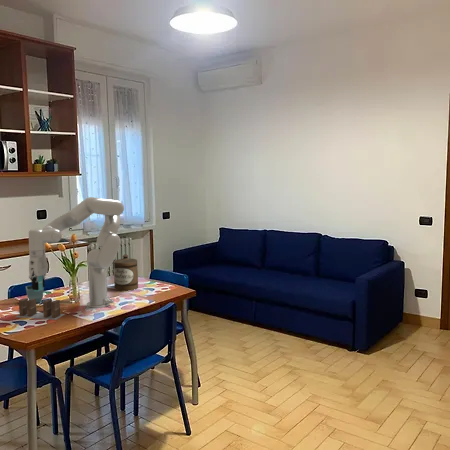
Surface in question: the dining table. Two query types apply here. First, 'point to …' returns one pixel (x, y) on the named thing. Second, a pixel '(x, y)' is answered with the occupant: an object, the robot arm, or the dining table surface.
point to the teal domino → (40, 282)
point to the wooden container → (125, 274)
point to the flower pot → (34, 294)
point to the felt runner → (40, 316)
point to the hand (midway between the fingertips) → (38, 287)
